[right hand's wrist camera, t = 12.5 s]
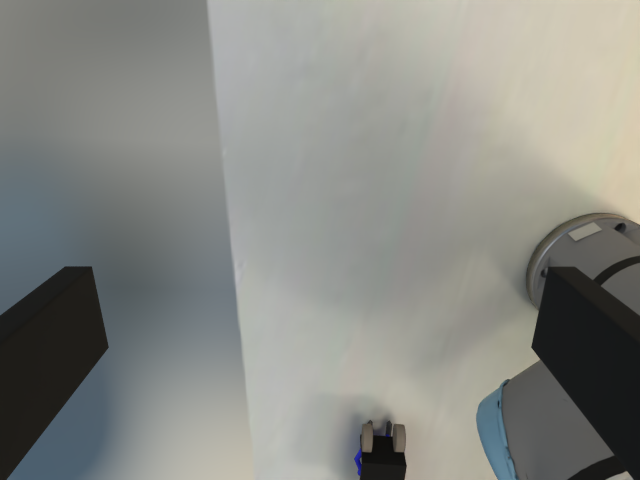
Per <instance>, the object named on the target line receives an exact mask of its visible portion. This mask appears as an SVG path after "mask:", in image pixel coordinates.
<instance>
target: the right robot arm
mask: <svg viewBox="0 0 640 480" xmlns="http://www.w3.org/2000/svg"><path fill="white" fill-rule="evenodd" d="M526 285H527V291H528V294H529V297H530V299H531V301H532V303H533V304H534V305H535V307H536V308H537V309H538V310H539V313H538V318H537V323H536V328H535V332H534V337H533V342H532V347H531V348H532V349H533V350H534V352H535V353H536V354H537V355H538V357H539V358H540V359H541V360H539V361H538V362H536V363H535V364H533V365H532V366H530V367H529V368H527V369H526V370H524V371H523V372H521V373H520V374H518V375H517V376H515V377H514V378H512V379H507V380H505V381H504V382H503V383H502V384H501V386H500V387H499V388H498V389H497V390H495V391H494V392H492V393H491V394H490V395H488V396H487V397H486V398H484V399H483V400H482V401H481V403H480V404H479V407H478V411H477V415H476V422H477V428H478V433H479V436H480V440H481V443H482V446H483V448H484V451H485V453H486V456H487V458H488V460H489V463H490V465H491V467H492V469H493V471H494V473H495V475H496V477H497V479H498V480H640V225H638V224H637V223H635V222H632V221H630V220H628V219H626V218H624V217H621V216H618V215H613V214H605V213H599V214H590V215H585V216H581V217H578V218H575V219H573V220H570V221H568V222H566V223H564V224H563V225H561V226H559V227H558V228H557V229H555V230H554V231H553V232H551V233H550V234H549V235H548V236H547V237H546V238H545V239H544V240H543V241H542V242H541V243H540V245H539V246H538V247H537V249H536V251H535V252H534V254H533V256H532V258H531V260H530V263H529V266H528V269H527V276H526ZM107 349H108V342H107V337H106V332H105V328H104V323H103V318H102V313H101V309H100V304H99V299H98V294H97V289H96V285H95V280H94V275H93V270H92V267H64V268H63V269H61V270H60V271H59V272H57V273H56V274H55V275H53V276H52V277H51V278H49V279H48V280H47V281H45V282H44V283H43V284H41V285H40V286H39V287H37V288H36V289H35V290H33V291H32V292H31V293H29V294H28V295H27V296H26V297H24V298H23V299H22V300H20V301H19V302H18V303H16V304H15V305H14V306H12V307H11V308H10V309H8V310H7V311H6V312H4V313H3V314H2V315H0V480H7V478H8V477H9V476H10V474H11V473H12V472H13V470H14V469H15V468H16V467H17V465H18V464H19V463H20V461H21V460H22V459H23V458H24V456H25V455H26V454H27V452H28V451H29V450H30V449H31V447H32V446H33V445H34V443H35V442H36V441H37V439H38V438H39V437H40V436H41V434H42V433H43V432H44V430H45V429H46V428H47V427H48V425H49V424H50V423H51V421H52V420H53V419H54V417H55V416H56V415H57V414H58V412H59V411H60V410H61V408H62V407H63V406H64V405H65V403H66V402H67V401H68V399H69V398H70V397H71V396H72V394H73V393H74V392H75V390H76V389H77V388H78V386H79V385H80V384H81V383H82V381H83V380H84V379H85V377H86V376H87V375H88V374H89V372H90V371H91V370H92V368H93V367H94V366H95V364H96V363H97V362H98V360H99V359H100V358H101V357H102V355H103V354H104V353H105V352H106V350H107Z"/></svg>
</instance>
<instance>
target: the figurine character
mask: <svg viewBox="0 0 640 480" xmlns="http://www.w3.org/2000/svg"><path fill="white" fill-rule="evenodd" d="M391 430H392V424H391V422H390V420H389V421H388V422H387V425H386V436H376V435H373V429H372V421H371V420H370V421H369V422H368V423H367V424H363V426H362V434H361V435H360V443H361V448H360V450H359V452H358V453H357V455H356V457H355V458H354V460H355V462H356V465H357V467H358V469H359V470H358V475H360V479H359V480H405V473H406V466H407V465H406V461H405V455H404V451H405V444H406V433H405V426H404V425H401V424H394V428H393V437H391ZM360 458H361V459H362V464H361V462H360V460H359V459H360Z"/></svg>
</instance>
